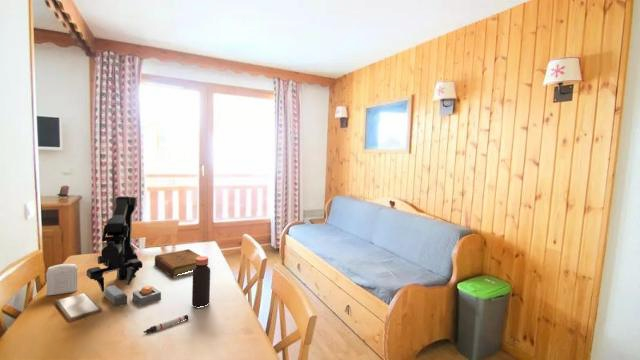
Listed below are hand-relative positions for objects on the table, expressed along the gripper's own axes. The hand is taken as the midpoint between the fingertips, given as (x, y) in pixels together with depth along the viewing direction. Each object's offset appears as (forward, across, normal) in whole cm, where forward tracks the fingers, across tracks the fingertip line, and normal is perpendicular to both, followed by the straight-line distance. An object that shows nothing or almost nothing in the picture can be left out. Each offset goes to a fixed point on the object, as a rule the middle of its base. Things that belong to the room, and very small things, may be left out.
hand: (115, 288), depth 129 cm
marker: (+5, -5, +34) cm, 35 cm away
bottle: (+5, -22, +28) cm, 36 cm away
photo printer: (+5, +13, -22) cm, 26 cm away
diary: (+6, -37, -17) cm, 41 cm away
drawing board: (+5, +12, -3) cm, 13 cm away
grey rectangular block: (+5, 0, 0) cm, 5 cm away
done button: (+3, -9, +8) cm, 12 cm away
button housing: (+5, -9, +8) cm, 13 cm away
